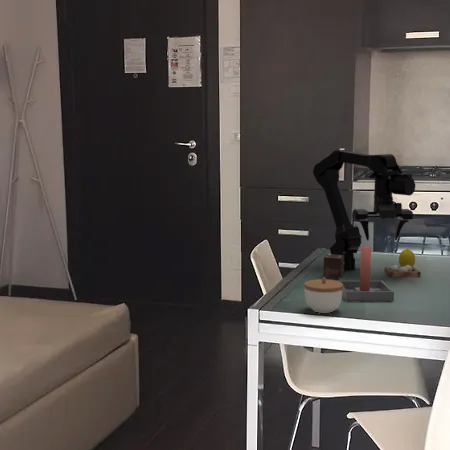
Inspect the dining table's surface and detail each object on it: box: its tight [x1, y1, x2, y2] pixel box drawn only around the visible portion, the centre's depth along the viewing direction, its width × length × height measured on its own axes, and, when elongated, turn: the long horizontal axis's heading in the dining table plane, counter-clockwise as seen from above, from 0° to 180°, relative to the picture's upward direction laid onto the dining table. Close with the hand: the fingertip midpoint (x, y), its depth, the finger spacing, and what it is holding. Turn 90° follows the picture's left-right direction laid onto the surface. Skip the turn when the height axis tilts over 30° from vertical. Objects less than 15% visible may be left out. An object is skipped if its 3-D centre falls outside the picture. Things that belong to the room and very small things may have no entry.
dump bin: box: [338, 280, 395, 302], centre depth 214 cm, size 14×14×3 cm
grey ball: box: [399, 266, 408, 272], centre depth 238 cm, size 3×3×3 cm
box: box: [322, 253, 345, 281], centre depth 239 cm, size 6×6×7 cm
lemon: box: [398, 248, 416, 267], centre depth 248 cm, size 6×6×8 cm
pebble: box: [405, 265, 413, 272], centre depth 240 cm, size 3×3×3 cm
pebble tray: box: [383, 266, 422, 278], centre depth 239 cm, size 10×8×2 cm
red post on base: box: [353, 245, 374, 291], centre depth 213 cm, size 6×5×14 cm
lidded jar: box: [303, 277, 343, 313], centre depth 198 cm, size 11×11×9 cm
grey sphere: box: [390, 264, 400, 272], centre depth 240 cm, size 3×3×3 cm
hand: (381, 240), depth 234 cm, fingers open, 9 cm apart
